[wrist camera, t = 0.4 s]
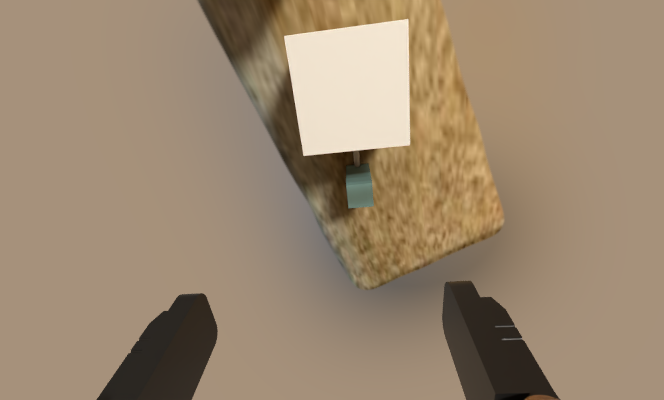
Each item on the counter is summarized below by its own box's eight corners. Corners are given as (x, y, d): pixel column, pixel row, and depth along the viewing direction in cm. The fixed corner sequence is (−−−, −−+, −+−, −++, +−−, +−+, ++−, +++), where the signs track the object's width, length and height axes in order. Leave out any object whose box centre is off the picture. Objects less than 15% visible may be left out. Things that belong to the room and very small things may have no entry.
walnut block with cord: (322, 53, 32) (315, 54, 25) (372, 47, 32) (379, 46, 25) (338, 186, 39) (336, 218, 31) (379, 183, 38) (387, 214, 31)
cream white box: (302, 39, 32) (284, 36, 23) (390, 27, 31) (408, 19, 22) (314, 128, 36) (303, 155, 27) (393, 120, 35) (409, 145, 26)
